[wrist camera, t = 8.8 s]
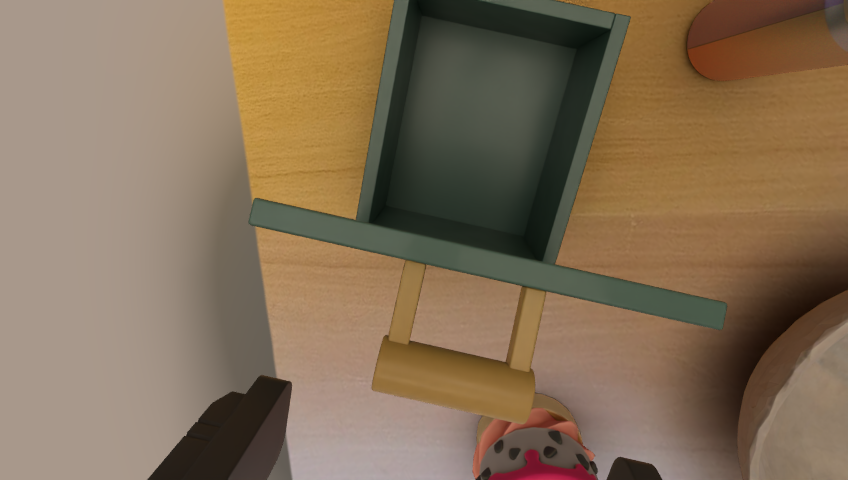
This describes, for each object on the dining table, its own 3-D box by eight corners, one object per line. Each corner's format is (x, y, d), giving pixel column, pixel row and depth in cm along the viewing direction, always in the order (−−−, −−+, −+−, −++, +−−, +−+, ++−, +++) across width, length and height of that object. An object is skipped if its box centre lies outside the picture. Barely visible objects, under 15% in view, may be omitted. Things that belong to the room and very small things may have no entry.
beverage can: (679, 8, 34) (844, -72, 19) (764, -14, 33) (1002, -114, 19) (686, 89, 35) (844, 71, 21) (767, 70, 35) (991, 38, 20)
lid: (253, 196, 13) (210, 376, 13) (729, 303, 13) (693, 487, 13) (352, 232, 31) (335, 308, 30) (552, 277, 30) (536, 353, 30)
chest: (413, 3, 35) (399, -34, 26) (588, 41, 35) (631, 16, 26) (375, 210, 40) (352, 236, 31) (529, 245, 39) (549, 281, 31)
